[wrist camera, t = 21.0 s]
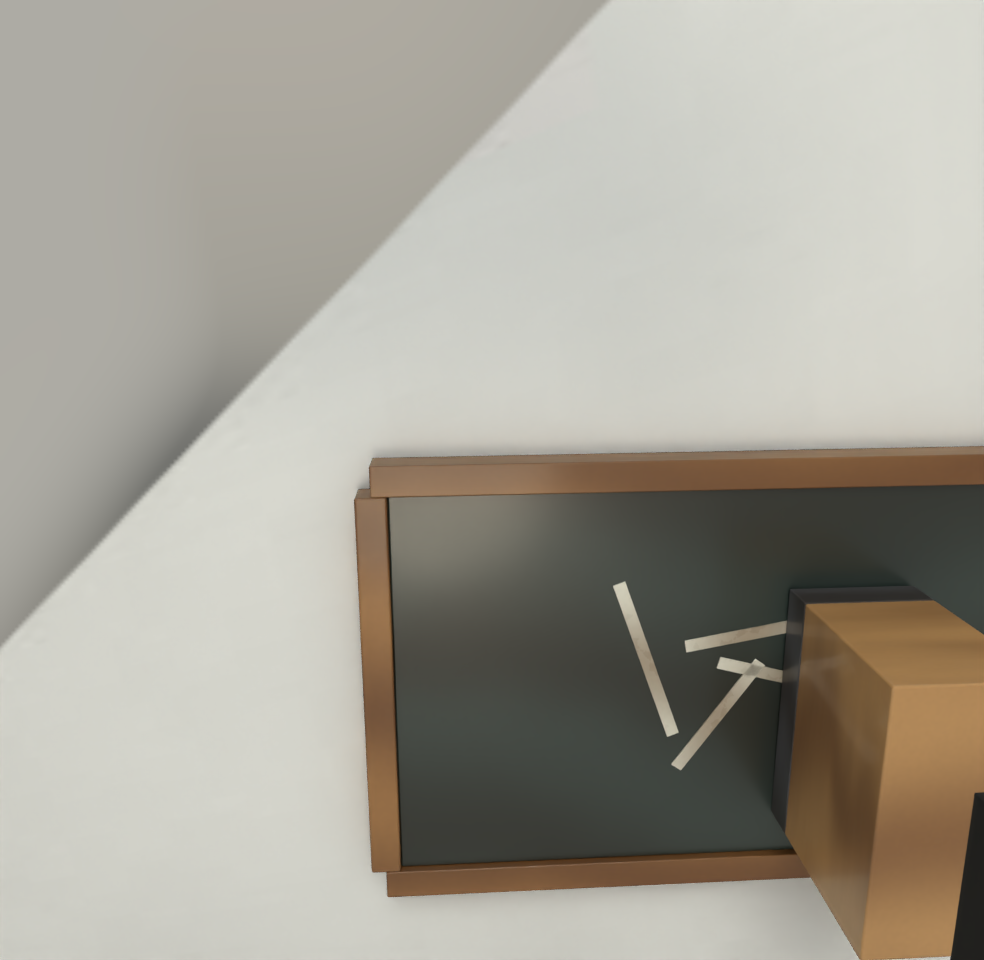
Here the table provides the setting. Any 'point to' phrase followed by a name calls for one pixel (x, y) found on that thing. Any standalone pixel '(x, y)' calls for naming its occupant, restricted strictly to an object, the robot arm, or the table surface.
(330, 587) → the table surface
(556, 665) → the slate board
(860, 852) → the eraser
